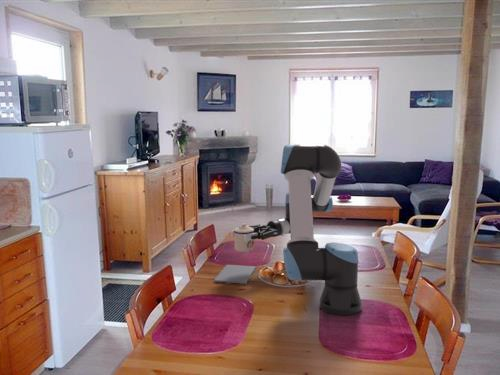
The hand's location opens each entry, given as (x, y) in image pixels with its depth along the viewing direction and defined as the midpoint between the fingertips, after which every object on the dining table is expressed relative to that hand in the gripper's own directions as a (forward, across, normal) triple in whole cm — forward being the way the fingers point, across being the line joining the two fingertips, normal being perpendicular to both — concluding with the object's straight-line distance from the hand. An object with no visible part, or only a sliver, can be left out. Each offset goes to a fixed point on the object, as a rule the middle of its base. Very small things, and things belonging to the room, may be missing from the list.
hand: (238, 236), depth 193 cm
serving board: (+1, 0, -18) cm, 18 cm away
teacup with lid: (-4, +1, -7) cm, 8 cm away
